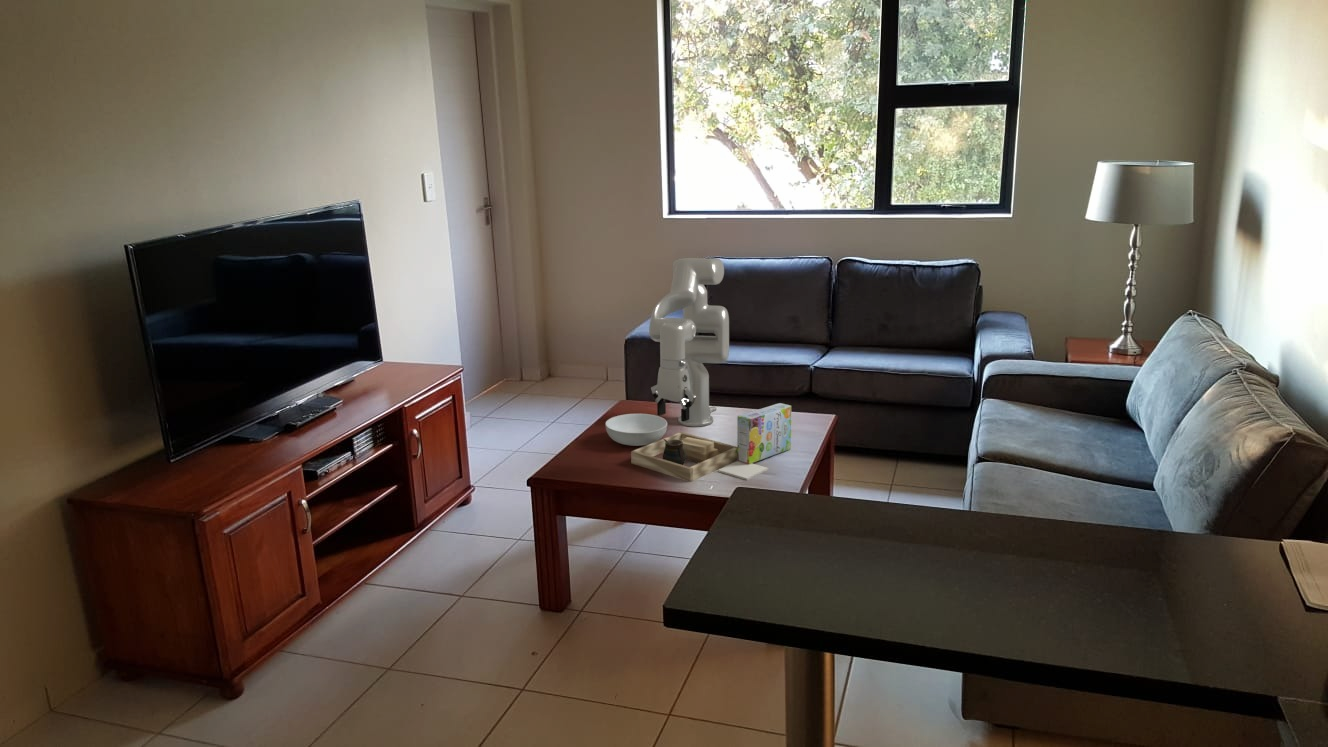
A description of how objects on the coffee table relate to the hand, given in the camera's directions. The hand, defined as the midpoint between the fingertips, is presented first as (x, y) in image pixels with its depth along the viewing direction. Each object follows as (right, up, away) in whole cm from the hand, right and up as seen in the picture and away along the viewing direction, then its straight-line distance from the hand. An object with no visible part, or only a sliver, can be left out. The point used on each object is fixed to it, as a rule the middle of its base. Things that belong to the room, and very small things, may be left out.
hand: (673, 417), depth 278 cm
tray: (+4, -14, +9) cm, 17 cm away
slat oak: (+8, -12, +12) cm, 19 cm away
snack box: (+29, -13, +12) cm, 34 cm away
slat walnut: (+7, -14, +13) cm, 20 cm away
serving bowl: (-12, -10, +28) cm, 32 cm away
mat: (+22, -16, 0) cm, 27 cm away
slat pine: (+7, -10, +12) cm, 17 cm away
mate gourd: (0, -16, +5) cm, 16 cm away
